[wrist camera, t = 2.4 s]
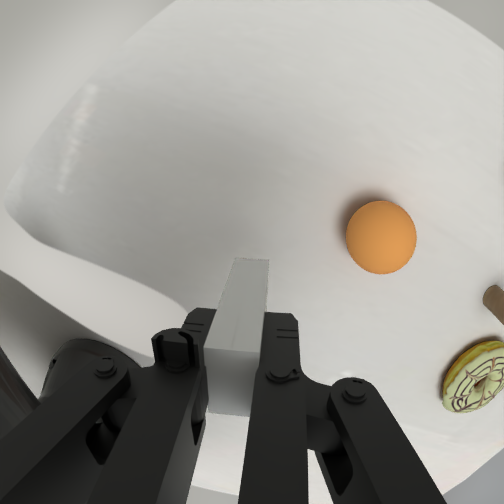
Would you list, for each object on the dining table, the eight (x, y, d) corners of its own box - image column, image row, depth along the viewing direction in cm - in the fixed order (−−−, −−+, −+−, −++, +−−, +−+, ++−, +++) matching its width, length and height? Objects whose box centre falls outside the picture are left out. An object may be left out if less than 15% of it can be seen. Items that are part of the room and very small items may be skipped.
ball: (336, 256, 27) (349, 285, 22) (343, 191, 25) (360, 206, 20) (395, 260, 27) (419, 287, 21) (405, 198, 25) (434, 213, 19)
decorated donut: (430, 408, 33) (438, 428, 30) (445, 346, 30) (458, 366, 26) (492, 388, 32) (502, 405, 28) (511, 326, 28) (526, 342, 25)
